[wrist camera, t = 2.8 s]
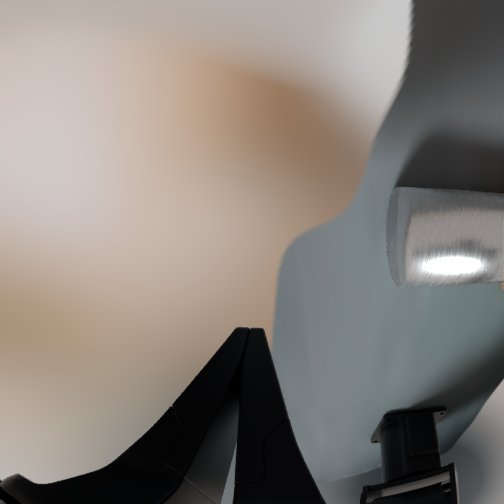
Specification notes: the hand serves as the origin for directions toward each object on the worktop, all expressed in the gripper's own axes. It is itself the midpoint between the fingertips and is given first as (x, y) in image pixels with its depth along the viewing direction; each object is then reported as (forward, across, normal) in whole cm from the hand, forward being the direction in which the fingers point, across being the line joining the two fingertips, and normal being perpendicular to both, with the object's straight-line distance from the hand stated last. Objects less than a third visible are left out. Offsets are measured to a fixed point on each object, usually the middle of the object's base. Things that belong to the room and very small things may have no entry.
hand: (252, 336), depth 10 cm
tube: (+6, -11, 0) cm, 13 cm away
